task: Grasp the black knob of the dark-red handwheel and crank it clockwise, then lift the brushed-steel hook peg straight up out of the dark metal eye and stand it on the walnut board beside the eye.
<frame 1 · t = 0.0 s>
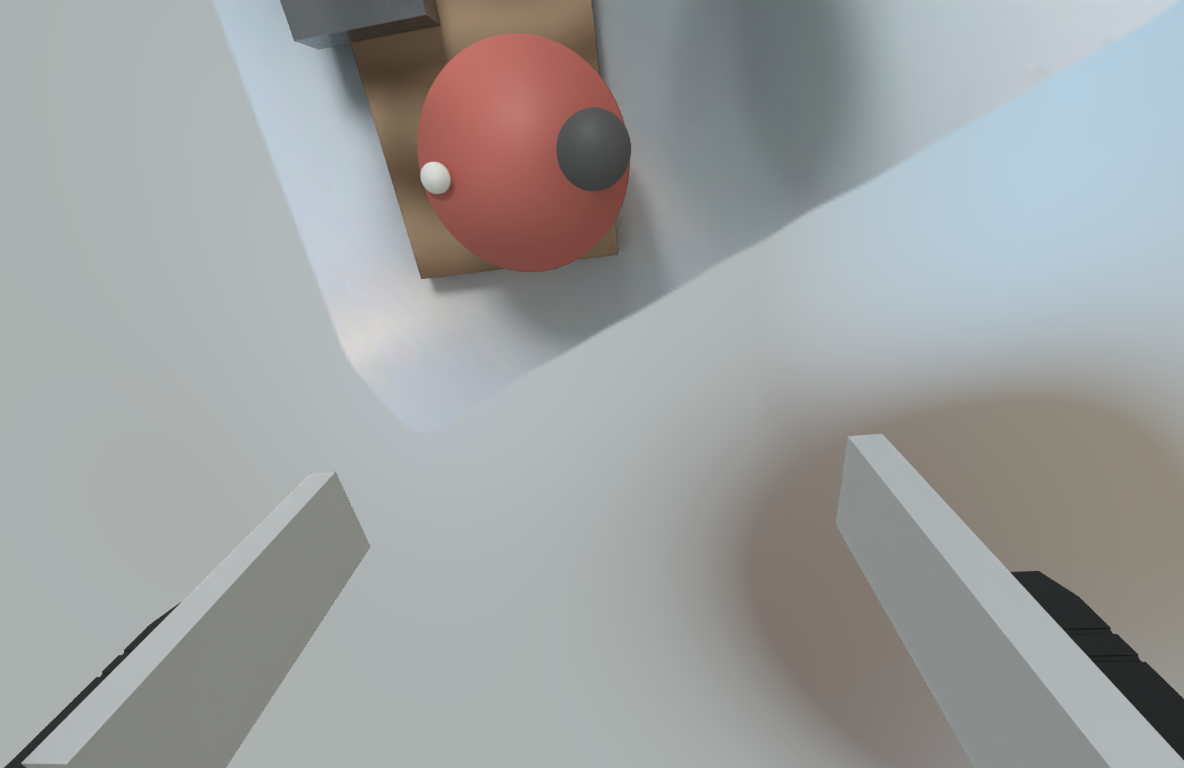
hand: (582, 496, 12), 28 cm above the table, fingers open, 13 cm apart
board: (483, 74, 32), on the table
handwheel: (507, 166, 24), point 11 cm above the table, hinge at 0.0°
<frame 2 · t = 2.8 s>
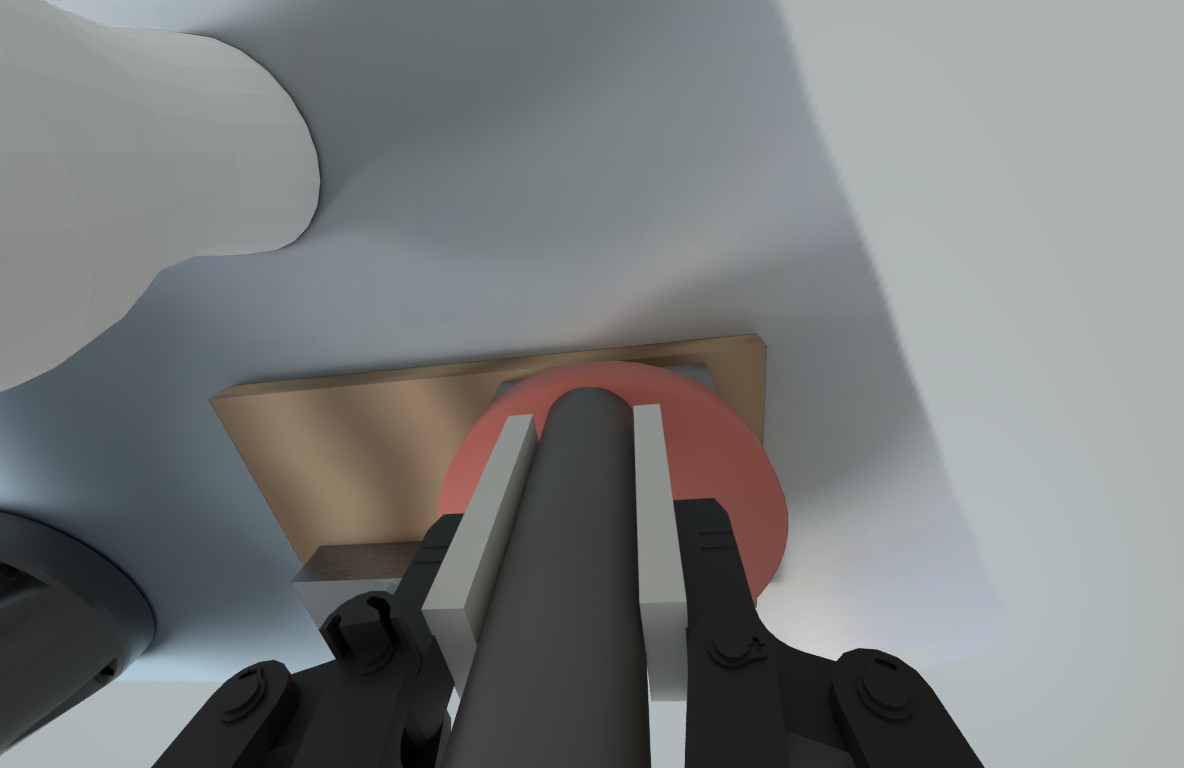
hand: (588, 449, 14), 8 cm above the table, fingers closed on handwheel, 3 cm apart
eye: (423, 574, 29), resting on board
board: (511, 493, 25), on the table
cup: (229, 153, 19), on the table
handwheel: (604, 640, 14), point 11 cm above the table, hinge at -0.1°, touching gripper
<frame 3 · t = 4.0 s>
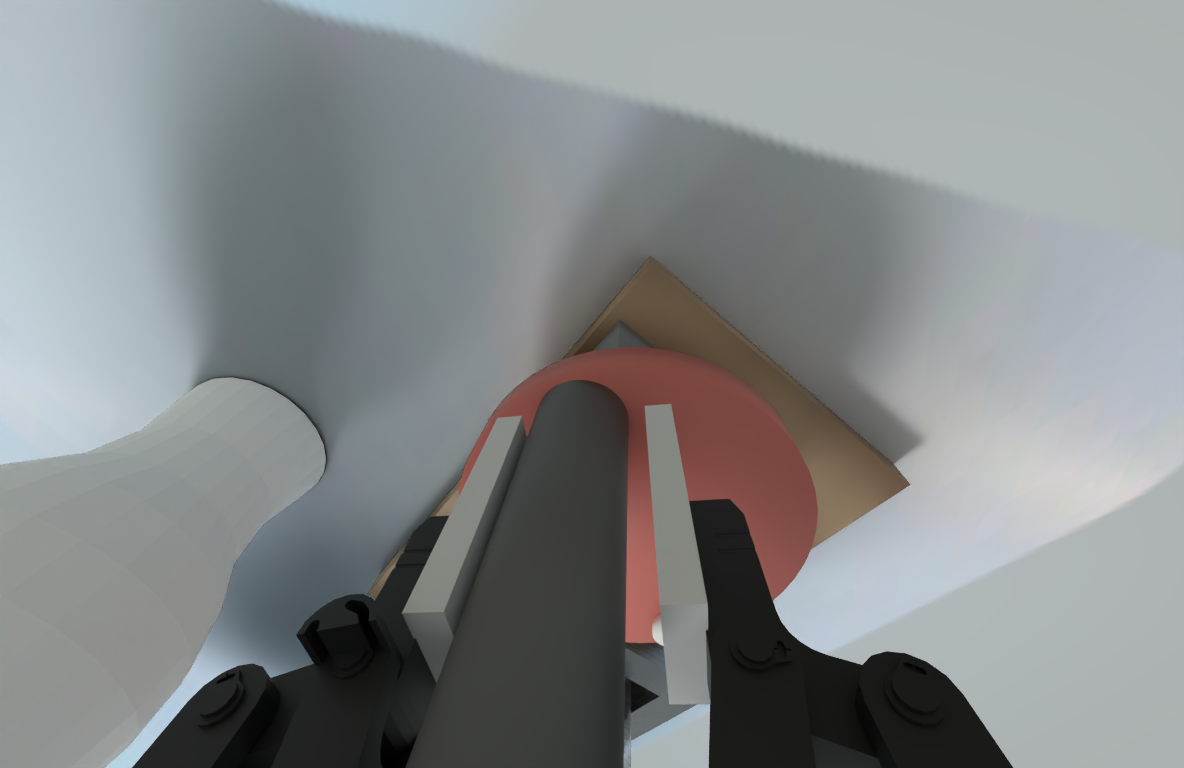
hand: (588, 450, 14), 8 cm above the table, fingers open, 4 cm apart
hook peg: (605, 653, 29), point 2 cm above the table, touching board
eye: (606, 631, 30), resting on board
board: (603, 526, 26), on the table
cup: (260, 437, 25), on the table
handwheel: (631, 633, 13), point 11 cm above the table, hinge at -30.9°, touching gripper
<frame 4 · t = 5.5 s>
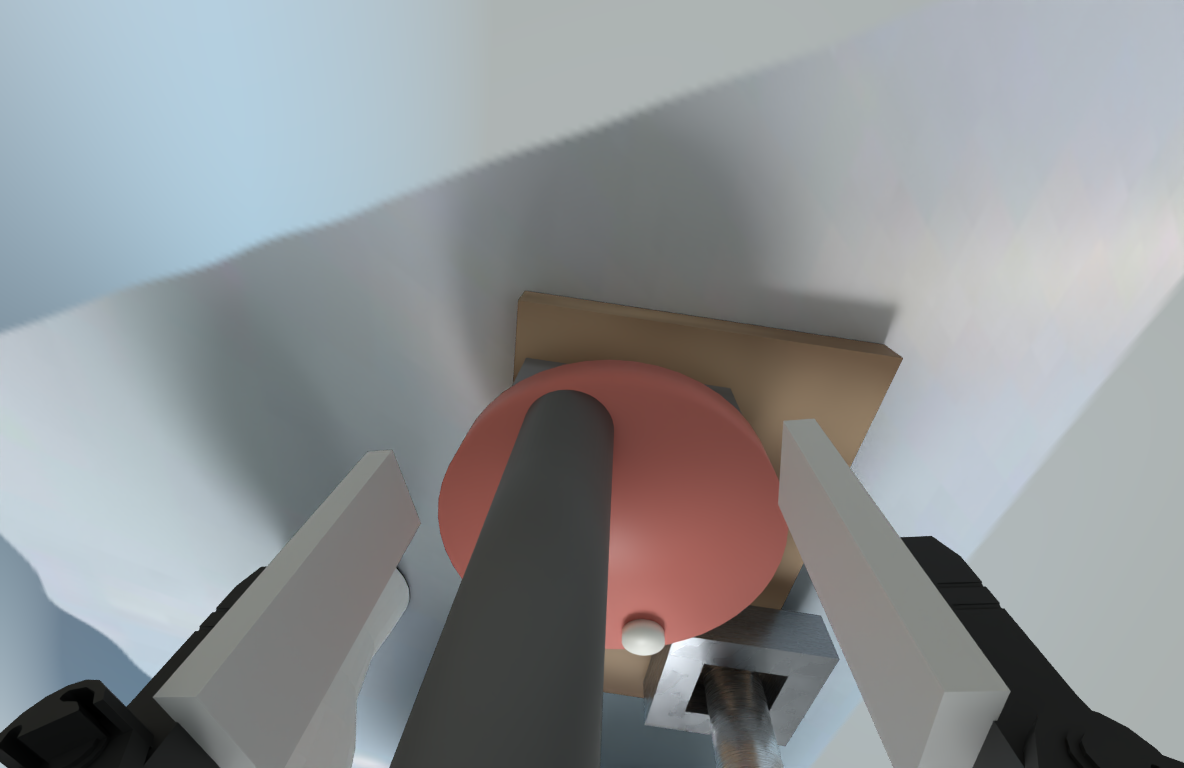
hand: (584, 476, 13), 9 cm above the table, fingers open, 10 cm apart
hook peg: (725, 651, 28), point 2 cm above the table, touching board
eye: (721, 628, 29), resting on board
board: (649, 534, 26), on the table
cup: (352, 580, 30), on the table
handwheel: (604, 640, 14), point 11 cm above the table, hinge at -66.1°
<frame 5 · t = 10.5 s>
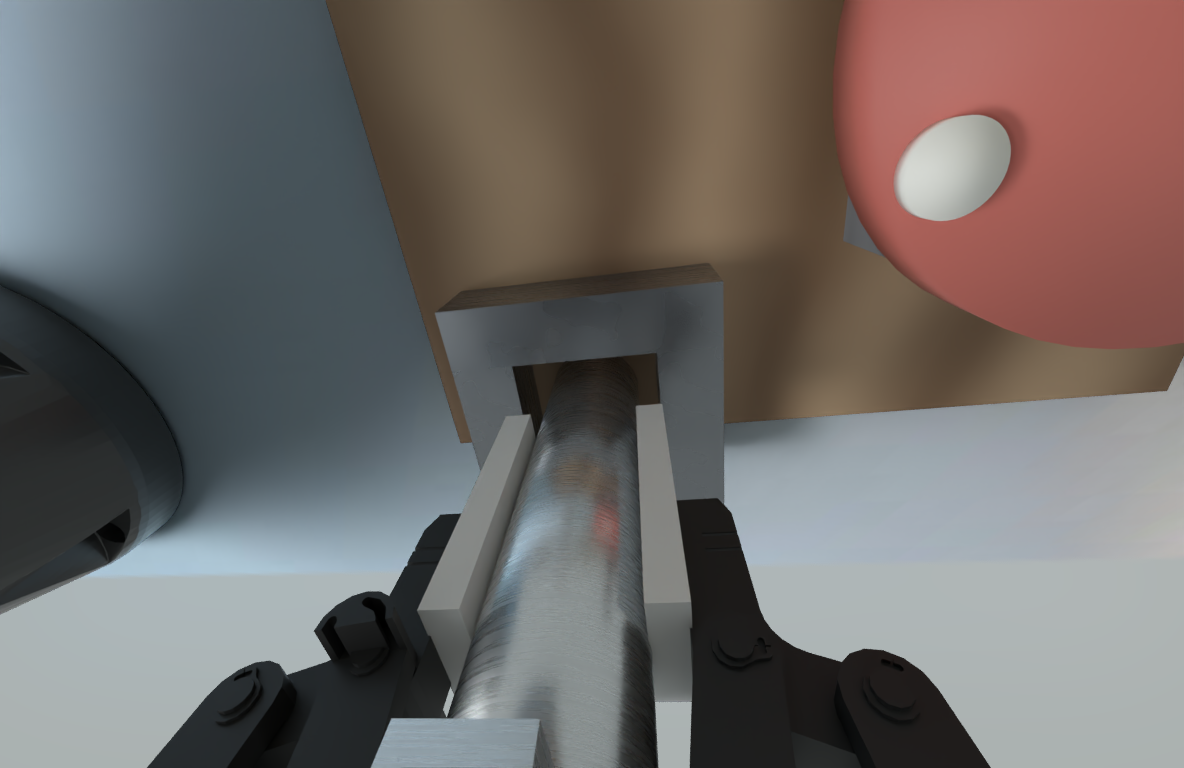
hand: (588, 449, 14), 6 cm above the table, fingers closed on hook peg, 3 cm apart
hook peg: (596, 388, 17), point 2 cm above the table, touching gripper
eye: (598, 372, 19), resting on board
board: (782, 193, 15), on the table
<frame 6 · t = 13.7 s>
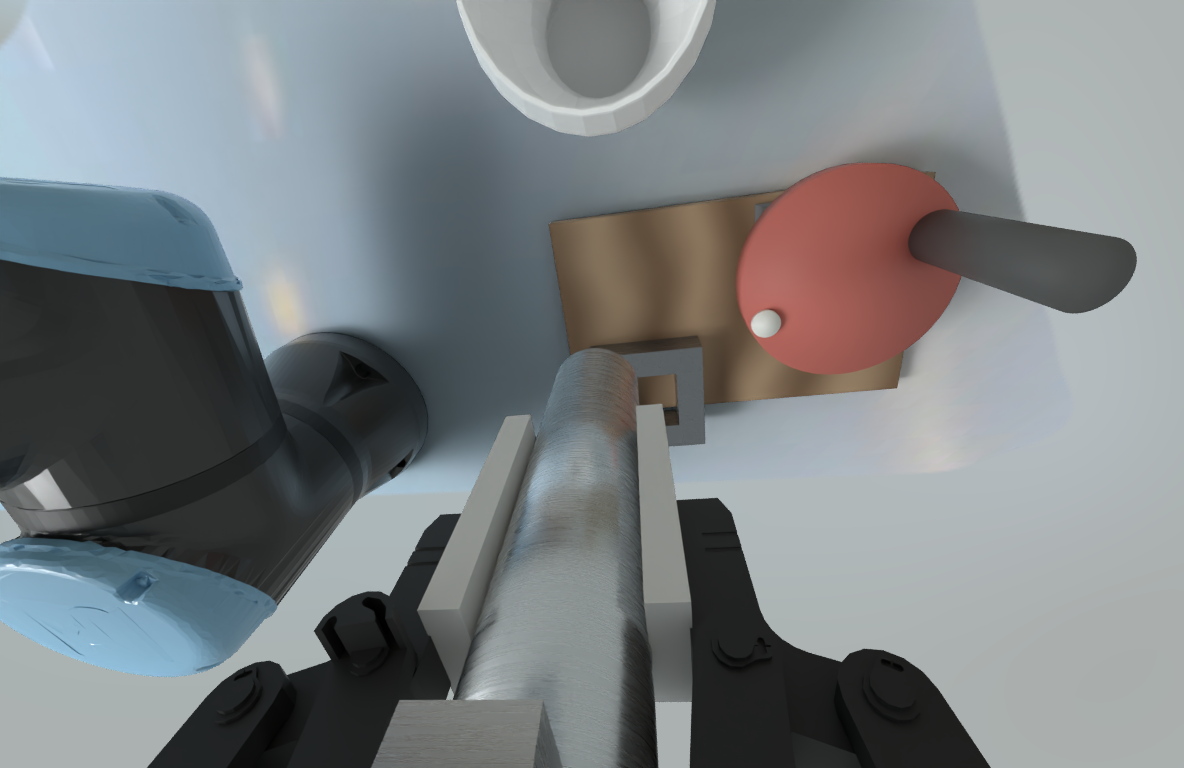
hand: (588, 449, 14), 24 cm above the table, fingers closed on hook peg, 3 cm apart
hook peg: (596, 386, 18), point 20 cm above the table, touching gripper
eye: (646, 380, 40), resting on board
board: (728, 305, 36), on the table
cup: (600, 50, 30), on the table
handwheel: (882, 297, 25), point 11 cm above the table, hinge at -66.1°
when the fingers open (7 cm above the table, at t = 17.1 s): hook peg stays where it is, resting on board.
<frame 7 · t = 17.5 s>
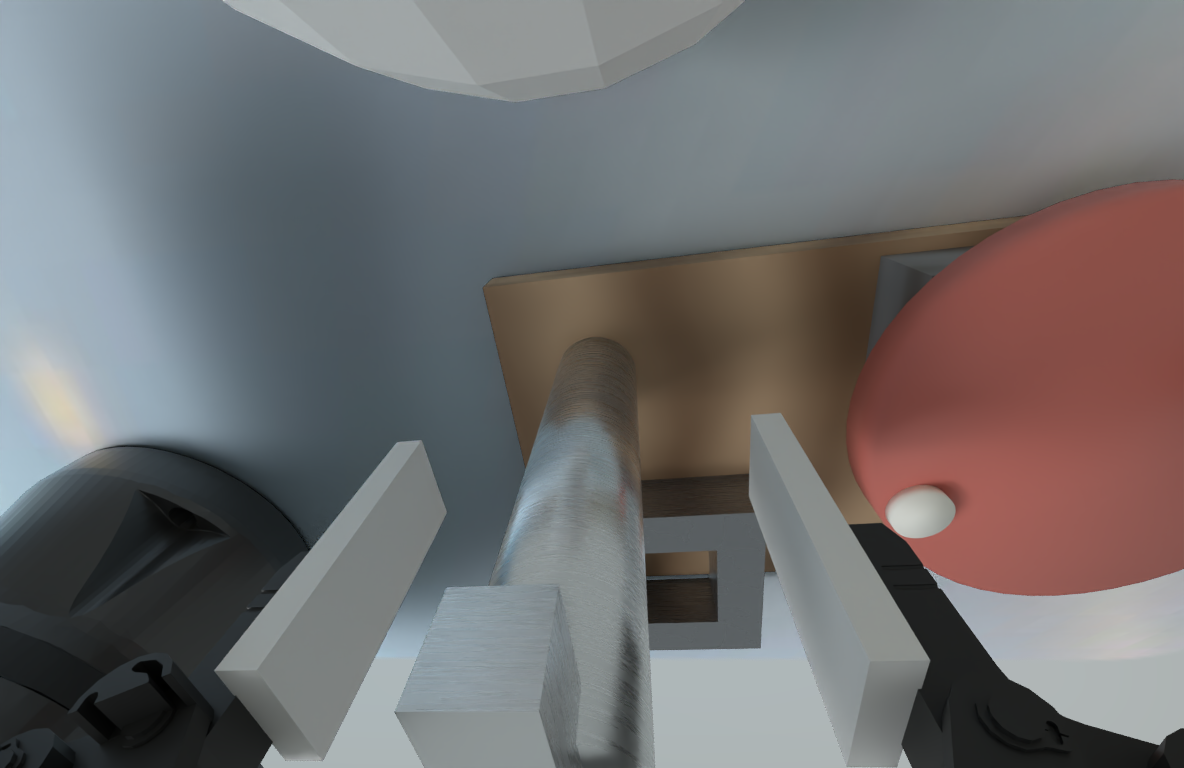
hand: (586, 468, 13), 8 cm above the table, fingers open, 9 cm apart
hook peg: (597, 373, 19), point 2 cm above the table, touching board
eye: (659, 525, 24), resting on board
board: (805, 419, 21), on the table
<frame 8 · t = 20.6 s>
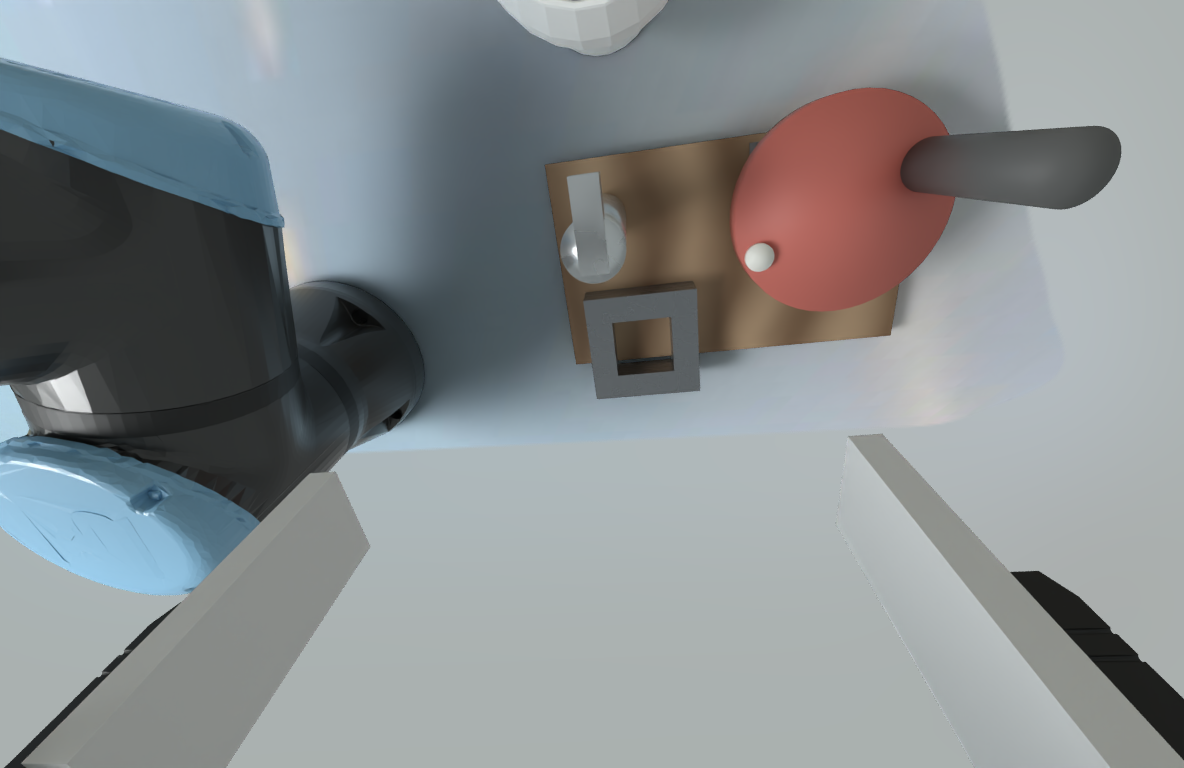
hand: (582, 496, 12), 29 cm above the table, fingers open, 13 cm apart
hook peg: (605, 216, 35), point 2 cm above the table, touching board
eye: (642, 330, 40), resting on board
board: (723, 251, 37), on the table
handwheel: (873, 218, 25), point 11 cm above the table, hinge at -66.1°
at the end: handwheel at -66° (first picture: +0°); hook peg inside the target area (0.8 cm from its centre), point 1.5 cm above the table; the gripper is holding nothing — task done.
